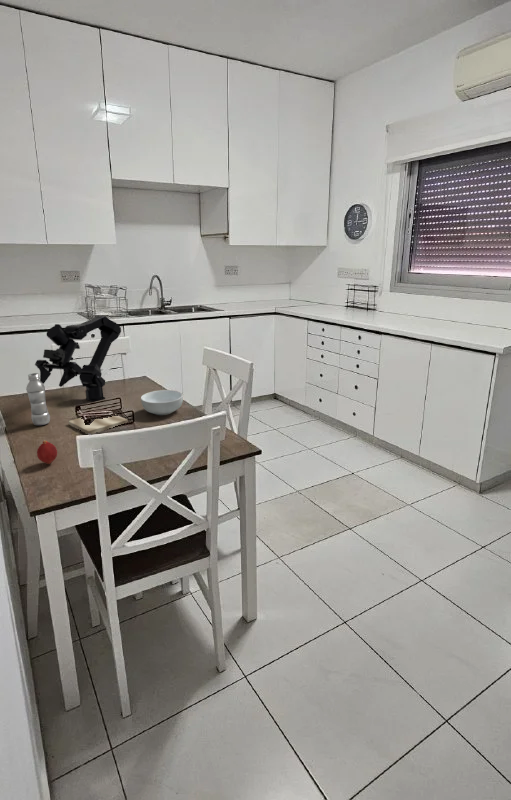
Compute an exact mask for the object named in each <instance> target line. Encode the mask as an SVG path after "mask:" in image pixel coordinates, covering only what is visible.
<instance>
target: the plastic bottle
mask: <svg viewBox="0 0 511 800" xmlns="http://www.w3.org/2000/svg"><path fill="white" fill-rule="evenodd" d="M27 376H28V381H29V382H28V383H27V384H26V387H25V390H26V393H27V397H28V399H29V403H30V411H31V421H32V424H33V425H34V426H44V425H47V424H49V423H50V421H51V414H50V412H49V410H48V406H47V402H46V386H45V383H44V384H43V383H42V382H41V381H40V373H38V372H35V373H29V374H28V375H27Z"/></svg>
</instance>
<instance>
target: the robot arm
mask: <svg viewBox="0 0 511 800" xmlns="http://www.w3.org/2000/svg"><path fill="white" fill-rule="evenodd" d="M96 329H98V331H100V332H99V333H100V337H101V338H100V340H99V343H97V344H98V345H97V347H96V348H95V351H94V354H93V355H92V357H91V360H90V362H89V363H88V364H84V365H83V366H80V365H79V364H78V363H77V362H76V361H73V360H74V357H73V354H74V353H75V350H80V349H81V346H80V344H79V342H76V341H77V340H78V341H81V340H83V339H84V338H86V337H87V336H88V334H89V333H90V332H92V331H94V330H96ZM121 332H122V327H121V326H120V324H119V323H117V322H116V321H113V320H111V319H110V318H109V317H107V316H105V315H96V316H95V317H93V318H91V319H89V320H87V321H86V320H85V321H84V322H82V323H79V324H69V325H66V326H65V327H64V328H63V327H62V325H61V324H59V323H56V324H54V326H52V327H50V328H49V329H48V330H47V331H46V337H47V338H48V339H49V340H50V341H52V342H53V343H54V344H55V345H56V346H58V348H56V349H44V350H43V354H42V355H43V356H42V358H43V359H37V360H36V361H35V364H34V366H35V367H36V368H37V369H38V370H39V377H40V379H39V380H40V381H41V382H42V383H43V384H44V385H45V383H46V382H47V380H48V378H49V377H50V376H51V374H52V373H51V372H53V370H63V374H62V376H61V378H60V381H59V384H58V386H59V387H60V388H62V387H64V385H65V384H67V383H68V382H69V381H71V380H72V379H73V378H75V377H78V376H79V381H80V383H81V385H82V387H85V391H84V392H85V399H86V400H88V401H90V402H96V401H101V400H105V399H106V396H104V389H103V387H104V386H105V385H106V380H105V378H103V377H102V369H101V368H102V365H103V363H104V361H105V359H106V357H107V354H108V351H109V350H110V348H111V345H112V343H113V342H115V341H117V339H118V338H119V337H120V335H121ZM75 340H76V341H75ZM46 359H48V360H46ZM48 361H49V362H48ZM50 362H51V363H50Z"/></svg>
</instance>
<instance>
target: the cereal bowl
mask: <svg viewBox="0 0 511 800" xmlns="http://www.w3.org/2000/svg"><path fill="white" fill-rule="evenodd" d="M183 399H184V396H183V393H182V392H180V391H178V390H173V389H162V390H159V389H158V390H154V391H150V392H147V393H144V394H142V395H141V397H140V402H141V406H142V408H143V409H144V410H145V411H146V412H148V413H150V414H154V415H155V416H166V415H171V414H172V413H173V412H176V411H178V409H180V408H181V406H182V405H183V401H184V400H183Z"/></svg>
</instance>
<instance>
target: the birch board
mask: <svg viewBox="0 0 511 800" xmlns="http://www.w3.org/2000/svg"><path fill="white" fill-rule="evenodd" d="M81 418H82V417H79V418H75V419H72V420H69V421H68V425H70V426H71V427H72V428H75V429H76V428H77V430H78V429H79V430H78V431H80V430H81V431H80V432H82V433H84V432H85V433H84V434H86V433H91V435H94V434H97V433H96V432H98V433H101V432H105V431H107V429H108V430H110V429H109V428H111V429H114V428H113V427H115V426H118V425H121V424H124V423H127V422H128V423H129V421H128V419H127V418H125V417H122V416H120V415H118V416H112V417H108V418H103V419H95V420H94V421H93V422H92V423H91V424H90V425H85V423H84V420H83V419H81ZM121 426H122V425H121ZM118 427H119V426H118ZM115 428H116V427H115ZM104 430H105V431H104Z"/></svg>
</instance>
